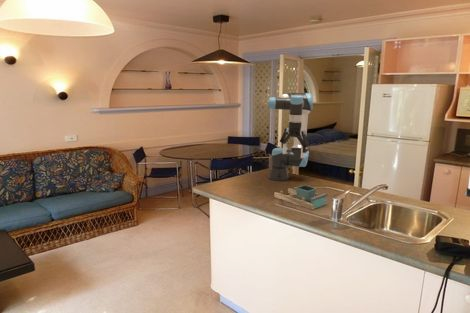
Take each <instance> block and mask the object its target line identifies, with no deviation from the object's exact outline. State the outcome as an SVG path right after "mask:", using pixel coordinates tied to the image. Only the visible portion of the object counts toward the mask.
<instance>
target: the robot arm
mask: <svg viewBox="0 0 470 313" xmlns="http://www.w3.org/2000/svg"><path fill="white" fill-rule="evenodd" d="M313 101H314V100H313V95H312V93H310V92H287V93H282V94H280V95H279V96H277V97H276V96H275V97H272V96H270V97H269V98H268V103H267V104H268V105H267V106H268V109H269V110H285V111H289V113H288V114H289V116H288V117H289V118H288V121H289V122H288V127H287V128H284V129H283V130H284V131H283V133H282V135H281V137H280V139H279V142H280V143H281V147H275V148H273V149H272V151H271V166H270V170H269V173H268V179H269V180H271V181H276V182H277V181H278V182H286V181H289V178H290V175H289V172H288V166H289V167H298V168H301V167H303V168H305V167H306V166H307V164H308V161H309V155H310V151H309V150H308V148H309V146H310V144H309V141H308V139H307V132H308V120H309V118H308V117H309V114H310V113H311V110H313V108H314V106H313V104H314V103H313ZM291 137H292V138H293V146H291V148H290V149H289V148H288V147H287V142H288V141H289V139H291Z"/></svg>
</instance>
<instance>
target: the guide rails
mask: <svg viewBox="0 0 470 313" xmlns="http://www.w3.org/2000/svg"><path fill="white" fill-rule="evenodd" d="M296 188H297V186H294V187H293V188H291V187H290V188H287V193H288V194H290V195H287V194H284V191H283V190H280V191H279V192H276V191H275V192H274V195H273V198H275V199H278V200H281V199H282V201H284V202H288V203H290V204H293V205H297V206H300V207H303V208H305V209H308V210H315V209H314V204H312V203H311V202H310V203H309V202H306V201H305V198H304V197H303V198H302V200H299V199H298V198H297V193H296ZM318 195H319V193H318V192H315V196H318ZM294 196H296V198H295V197H294ZM315 196H314V197H315ZM327 204H328V199H327V198H326V203H325V205H324V206H326V205H327Z"/></svg>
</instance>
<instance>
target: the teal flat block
mask: <svg viewBox="0 0 470 313" xmlns="http://www.w3.org/2000/svg"><path fill="white" fill-rule="evenodd" d="M328 195H329V194H328V193H325V192H324V193H321V194H318V196H315V197H313V198H310V201H311V202H310V203H312V204H314V209H313V210H315V209H318V208H320V207H324V206H326V205H325V203H326V199H327V197H328Z"/></svg>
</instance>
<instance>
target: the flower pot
mask: <svg viewBox="0 0 470 313" xmlns="http://www.w3.org/2000/svg"><path fill="white" fill-rule="evenodd" d="M316 191H317V188H316V187H313V186H309V185H305V184H304V185H300V186H296V193H297V196H296V199H299V200H302V198H303V197H304V198H305V201H306V202H309V203H311V201H310V198H313V197H314V196H315V193H317V192H316Z"/></svg>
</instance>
